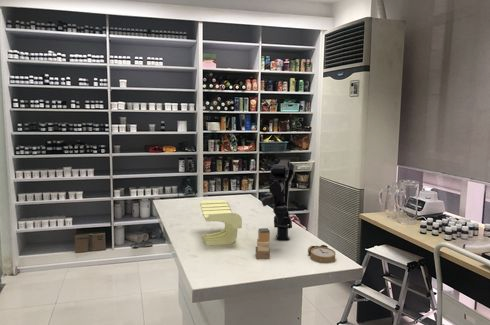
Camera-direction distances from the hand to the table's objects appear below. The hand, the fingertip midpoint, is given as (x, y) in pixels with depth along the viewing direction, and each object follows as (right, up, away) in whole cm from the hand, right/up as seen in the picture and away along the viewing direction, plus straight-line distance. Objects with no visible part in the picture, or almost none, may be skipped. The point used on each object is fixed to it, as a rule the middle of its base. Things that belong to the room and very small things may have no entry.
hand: (278, 222), depth 188 cm
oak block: (-8, -11, -11) cm, 17 cm away
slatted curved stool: (-29, -11, +13) cm, 34 cm away
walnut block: (-8, -15, -10) cm, 19 cm away
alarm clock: (+19, -15, -10) cm, 26 cm away
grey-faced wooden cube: (-7, -7, -11) cm, 15 cm away
